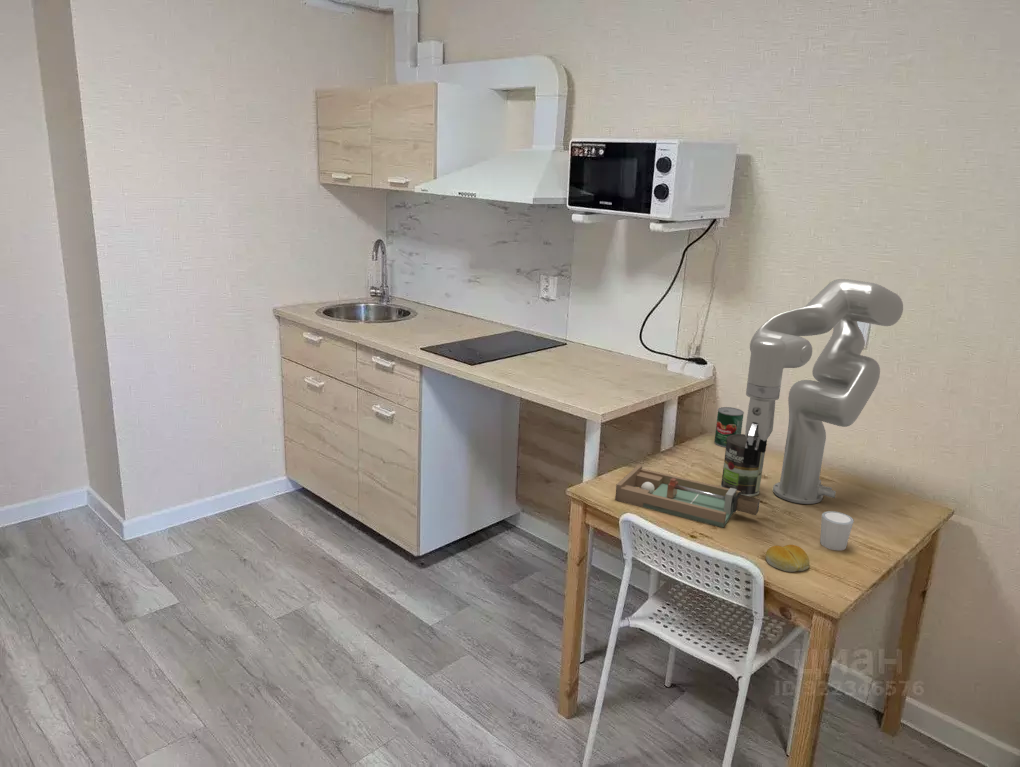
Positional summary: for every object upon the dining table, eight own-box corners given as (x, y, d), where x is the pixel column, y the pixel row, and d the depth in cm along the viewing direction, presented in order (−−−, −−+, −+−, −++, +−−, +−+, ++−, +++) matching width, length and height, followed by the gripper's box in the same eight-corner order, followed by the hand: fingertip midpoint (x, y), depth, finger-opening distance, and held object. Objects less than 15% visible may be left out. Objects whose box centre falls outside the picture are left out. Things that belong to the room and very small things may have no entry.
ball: (643, 479, 197) (644, 491, 198) (638, 483, 195) (639, 496, 195) (656, 480, 196) (656, 493, 196) (651, 485, 193) (652, 497, 194)
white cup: (812, 537, 176) (816, 510, 174) (839, 537, 176) (844, 510, 174) (825, 551, 169) (830, 524, 167) (854, 551, 170) (859, 524, 168)
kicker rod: (758, 512, 184) (761, 495, 183) (754, 519, 180) (757, 502, 179) (671, 491, 195) (673, 475, 194) (665, 497, 191) (667, 481, 190)
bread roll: (758, 555, 167) (761, 539, 166) (795, 554, 168) (798, 538, 167) (776, 574, 159) (779, 558, 158) (815, 573, 160) (818, 556, 159)
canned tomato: (739, 441, 239) (743, 408, 235) (740, 449, 231) (744, 416, 228) (714, 438, 241) (718, 405, 237) (713, 446, 233) (717, 413, 230)
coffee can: (742, 500, 195) (748, 450, 191) (712, 485, 203) (718, 437, 199) (768, 492, 200) (775, 443, 196) (738, 478, 209) (744, 431, 205)
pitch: (738, 504, 192) (741, 481, 191) (723, 527, 179) (726, 504, 177) (636, 479, 205) (638, 458, 204) (615, 500, 192) (617, 477, 190)
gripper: (772, 402, 166) (763, 472, 171) (786, 384, 180) (777, 449, 185) (738, 396, 169) (730, 466, 174) (754, 379, 184) (746, 443, 189)
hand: (754, 457), depth 180 cm, fingers open, 9 cm apart
